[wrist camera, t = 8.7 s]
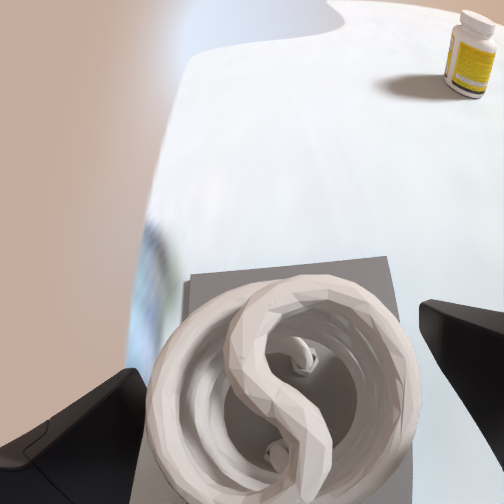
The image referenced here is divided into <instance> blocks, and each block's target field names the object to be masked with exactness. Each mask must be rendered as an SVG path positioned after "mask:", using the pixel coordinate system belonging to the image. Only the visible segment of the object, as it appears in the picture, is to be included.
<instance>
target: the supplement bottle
mask: <svg viewBox="0 0 504 504" xmlns="http://www.w3.org/2000/svg"><path fill="white" fill-rule="evenodd" d="M460 21H461V23H462V24H461V25H457V26H455V27H454V28H453V30H452V35H451V41H450V47H449V53H448V58H447V63H446V68H445V73H444V79H445V81H446V83H447V84H448V85H449V86H450V87H451V88H453V89H454V90H455V91H457V92H459V93H461V94H463V95H465V96H468V97H472V98H480V97H482V96H483V95H484V93H485V90H486V87H487V83H488V80H489V76H490V72H491V69H492V65H493V61H494V58H495V53H496V44H495V42H494V41H493V40H492V39H491V36H492V35H493V33H494V29H495V24H494V23H493V22H492V21H491V20H489V19H487V18H486V17H484V16H482V15H479V14H477V13H474V12H471V11H467V10H462V11H461V16H460Z"/></svg>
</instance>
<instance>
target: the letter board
mask: <svg viewBox="0 0 504 504" xmlns="http://www.w3.org/2000/svg"><path fill="white" fill-rule="evenodd" d="M326 274H329V275H332V276H335V277H339V278H342V279H345V280H348V281H351V282H355V283H356V284H358V285H359V286H361V287H363V288H364V289H366V290H367V291H369V292H370V293H372V294H373V295H374V296H376V297H377V298H378V299H379V300H380V301H381V303H382V304H383V305H384V306H385V307H386V308H387V309H388V310H389V311H390V312H391V313H392V314H393V315H394V316H395V317H396V319H397V320H398V322H399V323H400V320H399V315H398V309H397V304H396V298H395V293H394V288H393V283H392V279H391V274H390V269H389V265H388V261H387V256H382V257H372V258H363V259H353V260H343V261H334V262H324V263H313V264H303V265H293V266H282V267H271V268H261V269H250V270H238V271H227V272H215V273H203V274H191V277H190V291H189V308H188V316H189V315H190V314H191V313H192V312H193V311H195V310H196V309H198V308H199V307H201V306H202V305H204V304H205V303H207V302H208V301H210V300H211V299H213V298H215V297H217V296H218V295H220V294H222V293H224V292H226V291H229V290H232V289H235V288H238V287H241V286H244V285H247V284H250V283H255V282H263V281H271V280H278V279H282V280H284V279H287V278H290V277H294V276H297V275H326ZM299 338H300V337H299ZM301 339H306V338H301ZM308 340H310V339H308ZM412 481H413V456H412V443H411V445H410V448H409V450H408V452H407V453H406V455H405V457H404V459H403V461H402V462H401V464H400V466H399V467H398V468H397V469H396V471H395V472H394V473H393V474H392V475H391V476H390V478H389V479H388V480H387V481H386V482H385V483H384V484H383V485H382V486H381V488H380V489H379V490H378V491H376V492H375V493H374V494H372V495H371V496H370V497H368V498H367V499H365V500H364V501H363V502H361V503H360V504H412ZM187 504H189V503H188V502H187Z"/></svg>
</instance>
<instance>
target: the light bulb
mask: <svg viewBox="0 0 504 504" xmlns="http://www.w3.org/2000/svg"><path fill="white" fill-rule="evenodd" d="M299 337H300V338H299ZM301 338H306V339H301ZM308 339H310V340H308ZM421 405H422V402H421V382H420V368H419V365H418V362H417V359H416V356H415V354H414V351H413V348H412V345H411V342H410V340H409V338H408V336H407V335H406V333H405V332H404V330H403V328H402V327H401V325H400V323H399V322H398V320H397V319H396V317H395V316H394V315H393V314H392V313H391V312H390V311H389V310H388V309H387V308H386V307H385V306H384V305H383V304H382V303H381V301H380V300H379V299H378V298H377V297H376V296H374V295H373V294H372V293H370V292H369V291H367V290H366V289H364V288H363V287H361V286H359V285H358V284H356V283H355V282H351V281H348V280H345V279H342V278H339V277H335V276H332V275H329V274H326V275H297V276H294V277H290V278H287V279H284V280H282V279H278V280H271V281H263V282H255V283H250V284H247V285H244V286H241V287H238V288H235V289H232V290H229V291H226V292H224V293H222V294H220V295H218V296H217V297H215V298H213V299H211V300H210V301H208V302H207V303H205V304H204V305H202V306H201V307H199V308H198V309H196V310H195V311H193V312H192V313H191V314H190V315H189V316H188V317H187V318H186V319H185V320H184V321H183V322H182V323H181V324H180V326H179V327H178V328H177V329H176V330H175V331H174V332H173V333H172V335H171V336H170V337H169V339H168V340H167V342H166V344H165V345H164V347H163V348H162V350H161V352H160V353H159V355H158V357H157V359H156V362H155V365H154V368H153V371H152V374H151V377H150V381H149V384H148V388H147V395H146V428H147V434H148V440H149V444H150V446H151V449H152V452H153V455H154V457H155V460H156V462H157V464H158V466H159V467H160V469H161V471H162V473H163V475H164V476H165V478H166V480H167V481H168V483H169V485H170V486H171V487H172V488H173V489H174V490H175V491H176V492H177V493H178V494H179V495H180V496H181V497H182V498H183V499H184V500H185V501H186V502H188V503H189V504H360V503H361V502H363V501H364V500H365V499H367V498H368V497H370V496H371V495H372V494H374V493H375V492H376V491H378V490H379V489H380V488H381V486H382V485H383V484H384V483H385V482H386V481H387V480H388V479H389V478H390V476H391V475H392V474H393V473H394V472H395V471H396V469H397V468H398V467H399V466H400V464H401V462H402V461H403V459H404V457H405V455H406V453H407V452H408V450H409V448H410V445H411V443H412V441H413V438H414V435H415V431H416V428H417V424H418V419H419V415H420V410H421Z"/></svg>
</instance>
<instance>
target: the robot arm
mask: <svg viewBox="0 0 504 504" xmlns="http://www.w3.org/2000/svg"><path fill="white" fill-rule="evenodd" d="M419 329H420V332H421V334H422V336H423V338H424V340H425V342H426V343H427V345H428V347H429V349H430V351H431V353H432V355H433V356H434V358H435V360H436V362H437V364H438V366H439V367H440V369H441V371H442V372H443V374H444V375H445V376H446V378H447V379H448V381H449V382H450V384H451V385H452V387H453V388H454V390H455V391H456V393H457V394H458V396H459V397H460V399H461V400H462V402H463V404H464V405H465V407H466V408H467V410H468V411H469V413H470V415H471V416H472V418H473V419H474V421H475V423H476V424H477V426H478V427H479V429H480V431H481V432H482V434H483V436H484V437H485V439H486V441H487V442H488V444H489V446H490V448H491V449H492V451H493V453H494V455H495V456H496V458H497V460H498V462H499V463H500V465H501V467H502V469H503V471H504V313H503V312H498V311H492V310H487V309H481V308H476V307H471V306H465V305H460V304H455V303H449V302H444V301H439V300H433V299H430V300H427V301H424V302H422V303H421V304H420V306H419ZM146 395H147V387H146V385H145V383H144V381H143V379H142V377H141V376H140V374H139V372H138V370H137V369H136V368H126V369H123V370H121V371H120V372H119V373H117V374H116V375H114V376H113V377H111V378H110V379H108V380H107V381H105V382H104V383H102V384H101V385H99V386H98V387H96V388H95V389H93V390H92V391H90V392H89V393H87V394H86V395H85V396H83V397H81V398H80V399H78V400H77V401H76V402H74V403H72V404H71V405H69V406H68V407H66V408H65V409H63V410H62V411H60V412H59V413H57V414H56V415H54V416H53V417H51V418H50V420H47V421H45V422H44V423H42V424H40V425H39V426H37V427H36V428H34V429H32V430H31V431H29V432H27V433H26V434H24V435H22V436H21V437H19V438H17V439H15V440H13V441H12V442H10V443H8V444H6V445H4V446H2V447H0V504H129V502H130V496H131V491H132V486H133V480H134V475H135V470H136V465H137V460H138V456H139V451H140V446H141V442H142V437H143V432H144V424H145V414H146Z"/></svg>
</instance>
